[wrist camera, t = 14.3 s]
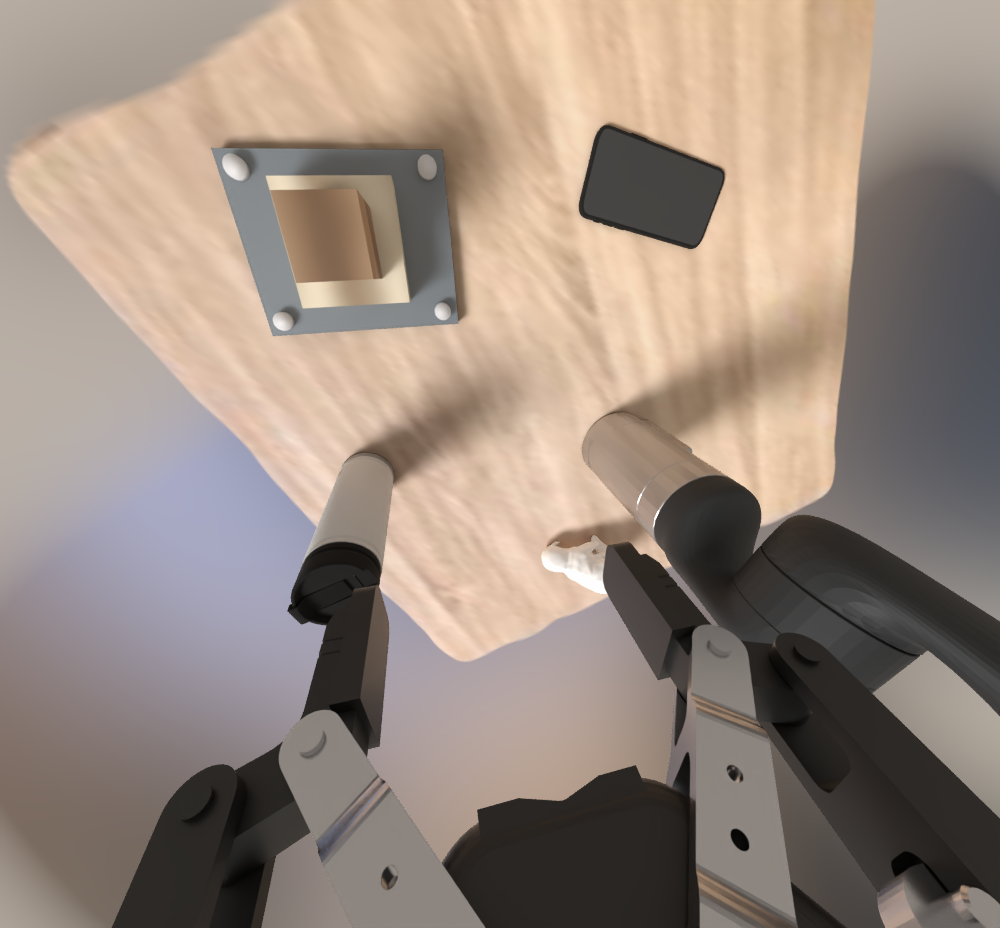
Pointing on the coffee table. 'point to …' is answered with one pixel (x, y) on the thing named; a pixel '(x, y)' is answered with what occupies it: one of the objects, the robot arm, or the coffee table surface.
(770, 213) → the coffee table surface
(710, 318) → the coffee table surface
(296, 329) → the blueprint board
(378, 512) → the travel mug
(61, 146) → the coffee table surface
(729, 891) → the robot arm
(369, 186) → the birch plinth
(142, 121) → the coffee table surface
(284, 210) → the walnut block
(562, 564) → the white lumpy piece
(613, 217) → the smartphone
